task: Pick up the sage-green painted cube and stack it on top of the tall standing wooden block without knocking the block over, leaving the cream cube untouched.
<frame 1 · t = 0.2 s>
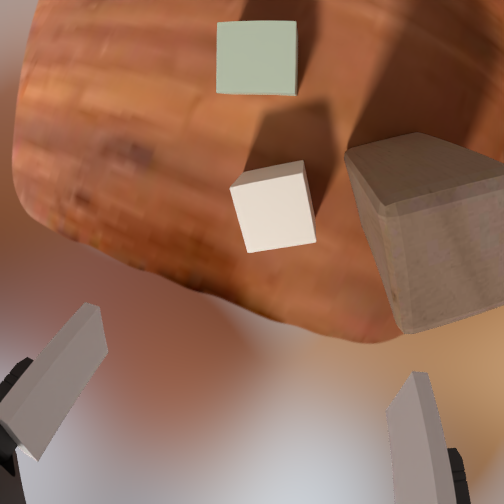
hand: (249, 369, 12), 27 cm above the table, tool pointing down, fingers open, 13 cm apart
sage cube: (265, 64, 31), on the table
wooden block: (392, 179, 34), on the table
cream cube: (279, 194, 37), on the table
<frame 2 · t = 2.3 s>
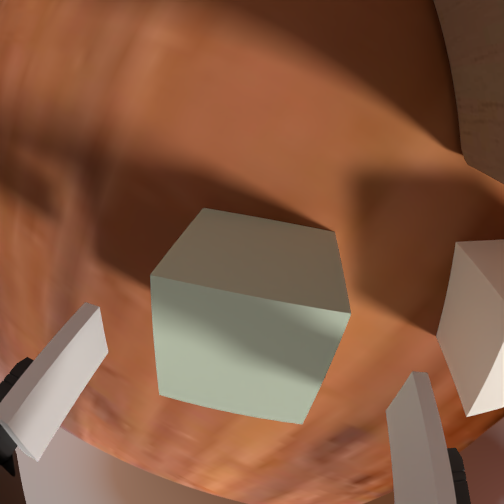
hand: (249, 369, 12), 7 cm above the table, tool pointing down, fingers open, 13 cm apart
sage cube: (259, 275, 19), on the table
cream cube: (489, 288, 17), on the table
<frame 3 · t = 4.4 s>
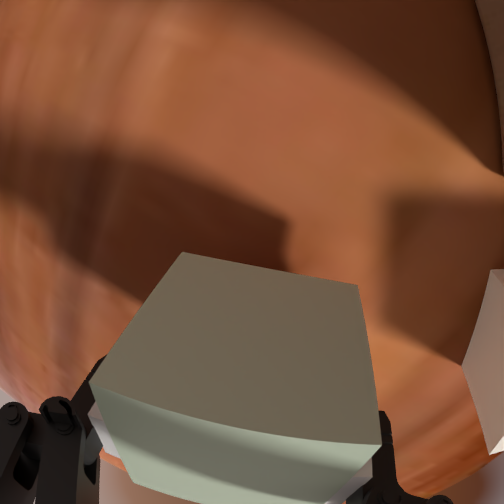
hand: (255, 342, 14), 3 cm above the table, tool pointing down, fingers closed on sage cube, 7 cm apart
sage cube: (257, 336, 14), point 3 cm above the table, touching gripper
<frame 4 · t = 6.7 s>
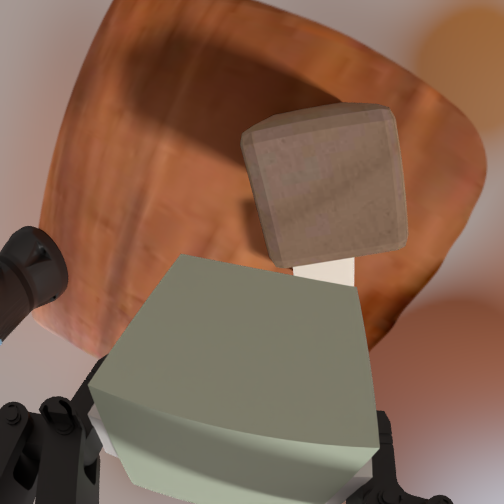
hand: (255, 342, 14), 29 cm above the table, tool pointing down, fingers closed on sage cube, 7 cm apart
sage cube: (256, 337, 14), point 29 cm above the table, touching gripper
wooden block: (316, 147, 37), on the table
cream cube: (321, 248, 43), on the table
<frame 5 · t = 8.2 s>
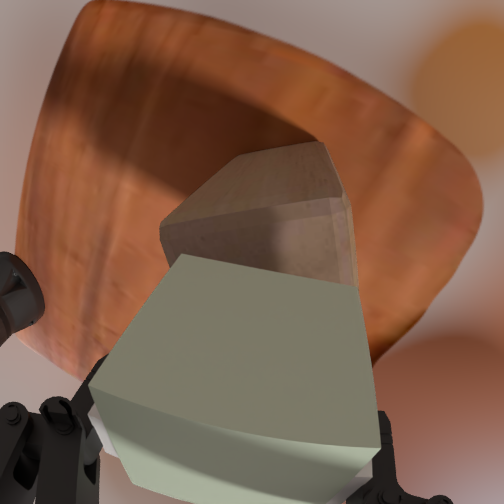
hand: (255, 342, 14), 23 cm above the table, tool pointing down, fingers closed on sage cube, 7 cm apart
sage cube: (256, 337, 14), point 23 cm above the table, touching gripper
wooden block: (287, 190, 35), on the table
when the fingers open (21 cm above the table, at t = 9.1 s): sage cube stays where it is, resting on wooden block.
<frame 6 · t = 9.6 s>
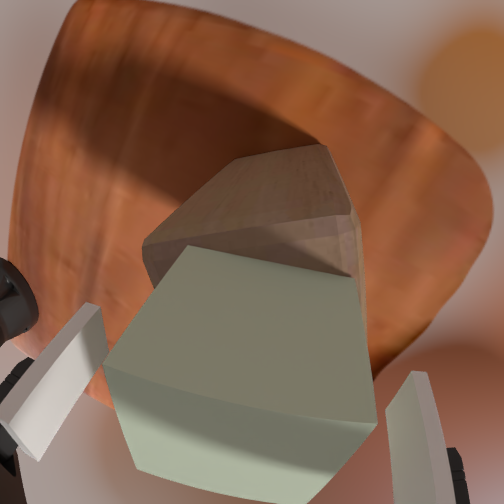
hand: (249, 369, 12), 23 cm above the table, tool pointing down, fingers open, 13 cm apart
sage cube: (258, 327, 15), point 20 cm above the table, touching wooden block
wooden block: (287, 197, 33), on the table, touching sage cube
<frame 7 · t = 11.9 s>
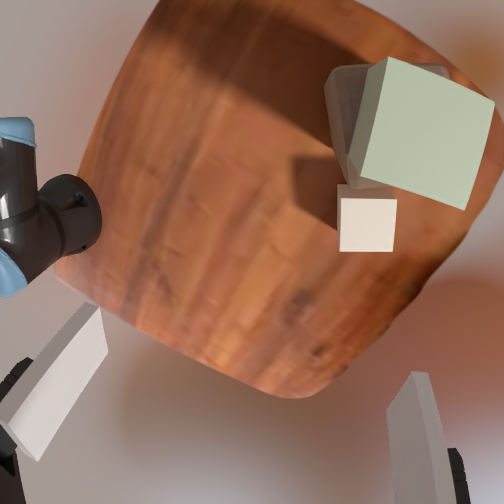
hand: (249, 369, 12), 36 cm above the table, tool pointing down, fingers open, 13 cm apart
sage cube: (402, 125, 21), point 20 cm above the table, touching wooden block
wooden block: (364, 114, 39), on the table, touching sage cube
cream cube: (361, 208, 44), on the table
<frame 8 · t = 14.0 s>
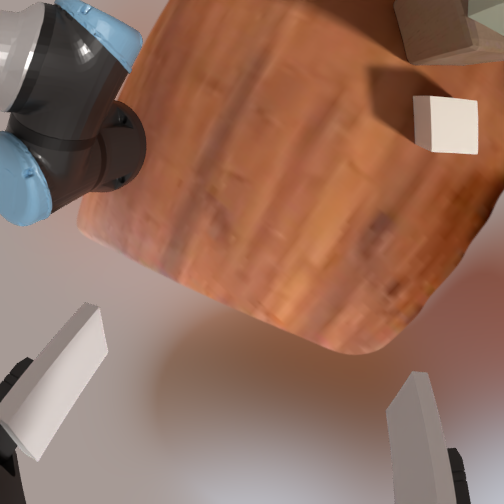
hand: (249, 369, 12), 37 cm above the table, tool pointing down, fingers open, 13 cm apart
sage cube: (500, 2, 14), point 20 cm above the table, touching wooden block
wooden block: (429, 33, 32), on the table, touching sage cube
cream cube: (435, 121, 38), on the table
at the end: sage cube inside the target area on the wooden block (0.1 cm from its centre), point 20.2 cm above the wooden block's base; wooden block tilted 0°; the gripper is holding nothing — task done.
